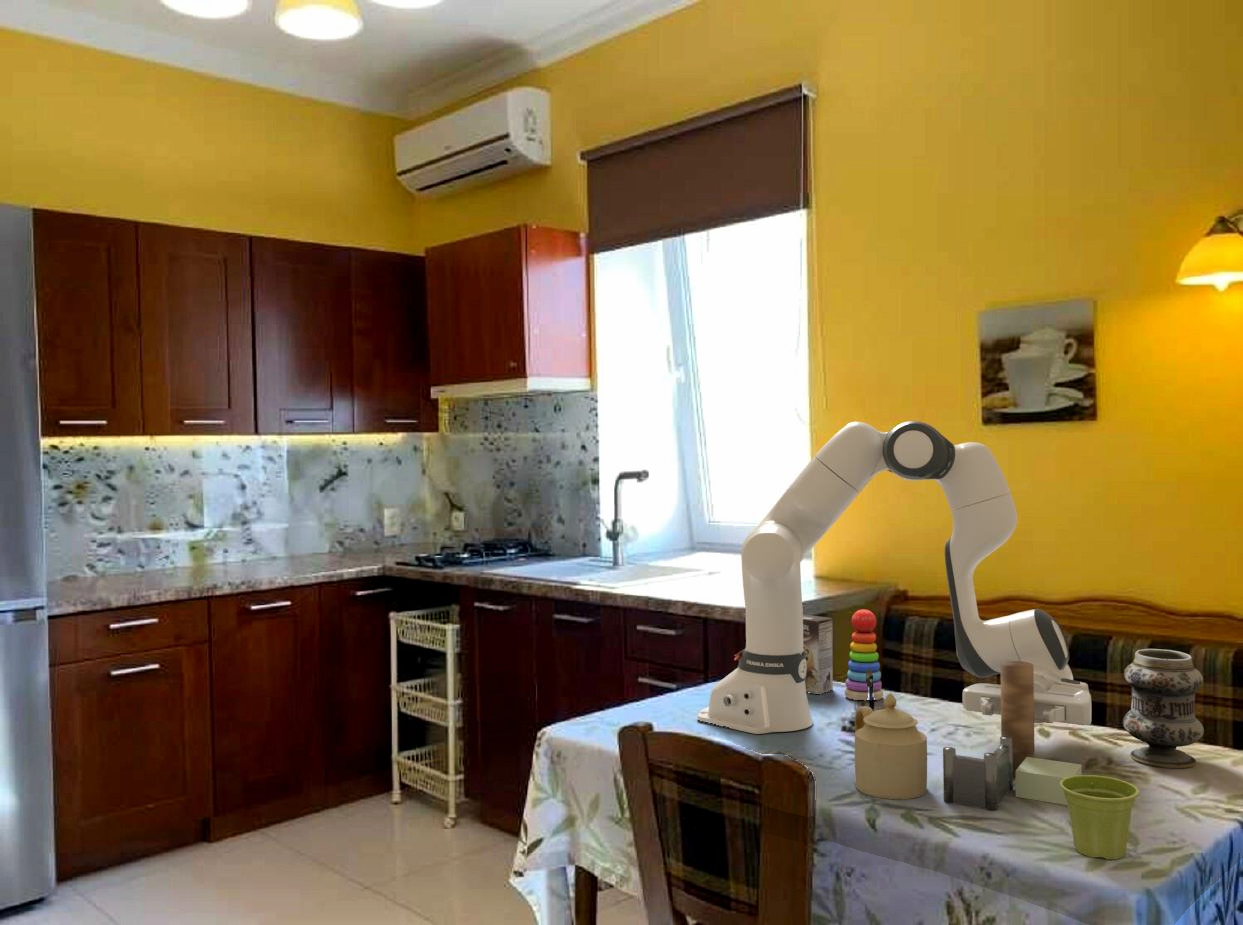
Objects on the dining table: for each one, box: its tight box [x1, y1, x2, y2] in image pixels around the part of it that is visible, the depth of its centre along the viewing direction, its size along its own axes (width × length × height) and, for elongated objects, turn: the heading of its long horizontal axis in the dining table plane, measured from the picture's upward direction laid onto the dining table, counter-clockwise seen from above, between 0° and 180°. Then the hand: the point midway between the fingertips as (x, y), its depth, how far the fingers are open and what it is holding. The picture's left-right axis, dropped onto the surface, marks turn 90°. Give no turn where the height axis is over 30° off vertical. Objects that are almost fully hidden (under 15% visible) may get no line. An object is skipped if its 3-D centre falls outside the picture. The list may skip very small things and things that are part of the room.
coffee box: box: [803, 613, 834, 695], centre depth 226 cm, size 9×6×16 cm
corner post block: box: [942, 736, 1014, 812], centre depth 158 cm, size 8×12×8 cm, turn 147°
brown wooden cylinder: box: [1000, 661, 1036, 780], centre depth 167 cm, size 5×5×18 cm
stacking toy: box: [844, 609, 884, 702], centre depth 218 cm, size 8×8×19 cm
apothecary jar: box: [1122, 648, 1205, 769], centre depth 173 cm, size 12×12×18 cm
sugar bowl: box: [854, 692, 928, 800], centre depth 163 cm, size 15×11×15 cm
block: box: [1015, 757, 1083, 806], centre depth 158 cm, size 8×8×4 cm
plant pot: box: [1060, 774, 1140, 860], centre depth 135 cm, size 9×9×9 cm
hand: (1016, 714), depth 166 cm, fingers open, 8 cm apart
